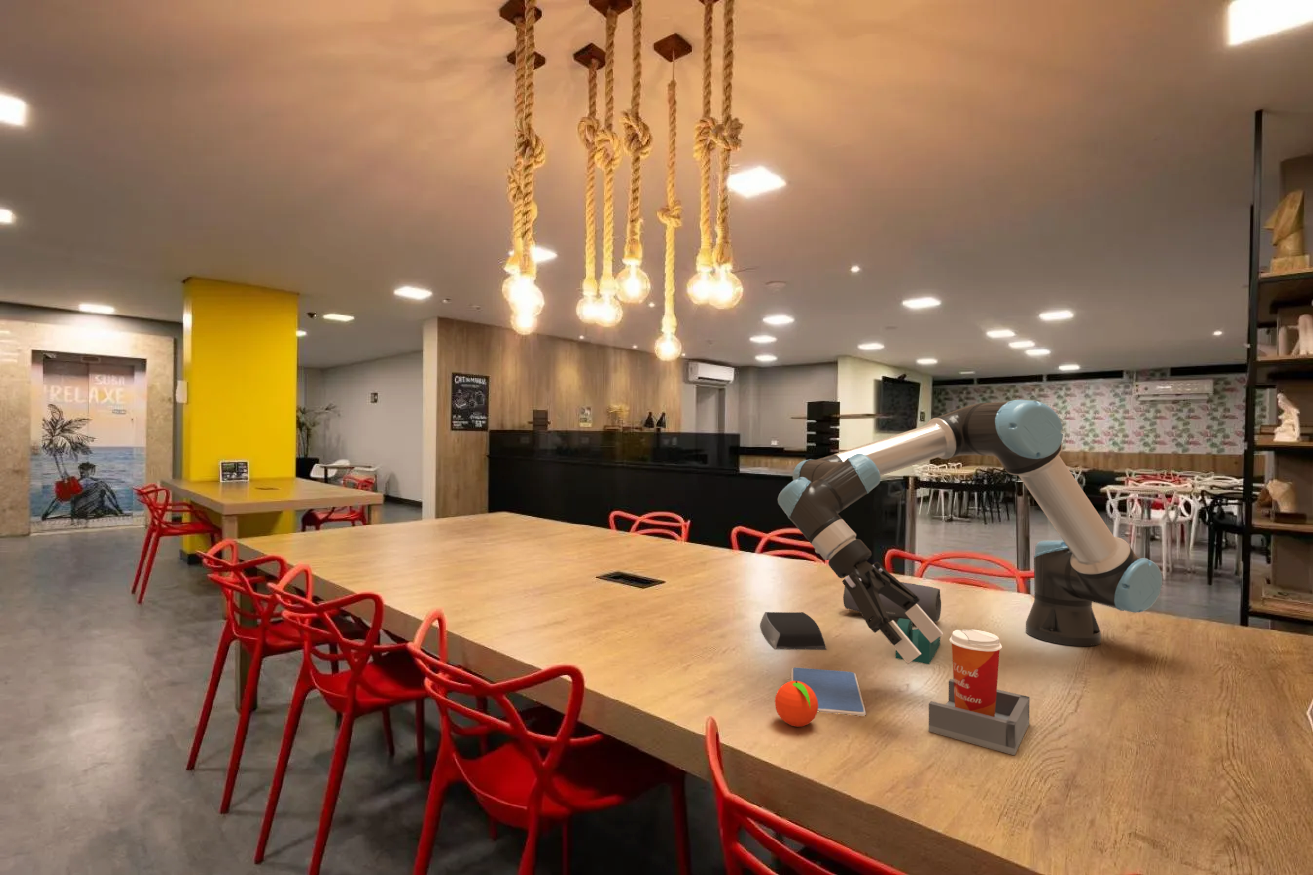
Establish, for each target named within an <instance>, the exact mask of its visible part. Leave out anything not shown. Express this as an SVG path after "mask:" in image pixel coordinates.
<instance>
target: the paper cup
mask: <svg viewBox="0 0 1313 875" xmlns="http://www.w3.org/2000/svg"><path fill="white" fill-rule="evenodd" d="M949 642H950V643H951V656H952V674H953V675H952V677H953V680H954V697H955V707H957V708H961V709H965V710H969V711H973V712H977V713H981V714H985V715H989V716H993V717H995V706H996V693H997V690H998V679H999V678H998V677H999V666H1000V665H999V663H1000V650H1001V649H1002V648H1003V646H1002V644H1001V643H1000V638H999V636H997V635H996V634H994V633H992V632H988V631H984V630H980V629H979V630H978V629H971V628H970V629H967V628H966V629H955V630H953V631H952V634H951V636H950V638H949Z"/></svg>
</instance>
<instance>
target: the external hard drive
mask: <svg viewBox="0 0 1313 875" xmlns="http://www.w3.org/2000/svg"><path fill="white" fill-rule="evenodd" d="M759 626H760V630H761V633H762V635H763V636H764V639H765V640H766V641H767V643H768V644H769V645H770V646H771V647H772V649H774V650H794V651H795V650H796V651H797V650H803V651H804V650H807V651H808V650H810V651H811V650H817V651H818V650H819V651H820V650H821V651H824V650H825V651H826V650H827V646H826V644H825V640H824V638H823V633H822V631H821V629H820V628H819V625H818V624H817V622H816V621H815V620H814V619H813V618H812V617H811V616H809V615H808V614H806V613H805V612H804V611H803V612H800V611H799V612H793V611H791V612H788V611H787V612H785V611H784V612H783V611H782V612H781V611H780V612H777V611H774V612H773V611H765V612H764V614H762V618H761V620H760V624H759Z"/></svg>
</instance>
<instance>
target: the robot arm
mask: <svg viewBox="0 0 1313 875" xmlns="http://www.w3.org/2000/svg"><path fill="white" fill-rule="evenodd" d="M1062 430H1064V428H1063V423H1062V420H1061V418H1060V417H1059V415H1058V414H1057V412H1056V411H1055V410H1054V409H1053V408H1051V407H1050V406H1049V405H1048V404H1046V403H1043V402H1041V401H1038V400H1026V399H1015V400H1014V399H1013V400H1010V401H999V402H996V401H995V402H979V403H974V404H971V405H967V406H964V407H961V408H959V409H955V410H954V411H950V412H948V413H945V414H943V415H939V416H936V417H934V418H931V419H930V420H928V422H926V425H923V426H920V427H917V428H913V429H910V430H906V431H905V432H901V433H898V434H895V435H892V436H891V435H890V436H888V437H885V438H881V439H878V440H875V441H873V442H872V441H871V442H869V443H866V444H863V445H860V446H856V447H853V448H849V449H846V450H843V451H840V452H837V453H834V454H831V455H827V456H825V457H821V458H818V459H814V458H813V459H812V458H810V459H806V460H802V461H800V462H799V463H797V465H796V466H795V467H794V469H793V471H792V481H791V482H789V483H788V484H787V485H785V486H784V487H783V488H782V490H781V491H780V493H779V494H778V497H777V504H778V505H779V506H780V508H781V509H782V511H783V512H784V514H786V516H787V518H788V519H789V520H790V521H791V523H793V525H795V527H796V528H797V529H798V530H799V531H800V532H801V534H803V536H804V537H805V539H806V540H808V542H809V543H810V544H811V546H812V547H813V548H814V551H815V553H816V554H819V555H820V556H821V557H822V559H823V560H824V561H828V562H827V563H828V566H829V567H830V569H831V570H832V572H833V573H834V574H835V575H836V576H837V577H838V578H839V579H843V580H842V581H841V582H842V584H843V586H844V588H845V587H846V588H847V589H848V591H849V592H850V594H851V596H852V597H853V599H854V601H855V603H856V605H857V607H858V609H859V610H860V614H861V617H862V618H863V620H864V622H865V624H866V625H867V627H868V628H869V629H870V630H871V632H873V633H875V634H876V633H877V632H878V631H879V632H880V633H881V634H882V635H883V636H884V637H885V638H886V640H887V641H888V642H889V643H890V644H891V646H892V647H893V648H894V649H895V651H896V650H897V652H898V653H899V654H900V655H901V656H902V658H903V659H904V661H905V662H906V664H907V665H909V664H910V663H911V662H914V661H913V660H914V659H915V658H917V657H918V656H919V655H921V652H920V651H919V650H918V649H917V648H916V647H915V645H914V644H913V643H912V642H911V641H910V640H909V638H908V637H907V636H906V635H905V634H904V632H903V631H902V630H901V629H900V628H899V627H898V625H897V622H894V621H893V620H892V621H889V618H888V616H887V613H886V611H885V609H884V606H883V604H882V601H881V599H880V597H879V594H882V595H884V596H885V597H887V598H888V599H890V600H891V601H893V602H894V603H896V604H897V605H899V606H900V607H902V608H903V609H905V610H906V611H907V610H908V611H907V612H905V614H906V615H907V616H908V617H909V618H910V619H911V621H912V624H914V626H915V627H916V629H919V630H920V631H921V632H922V633H923V635H924V636H925V637H926V638H927V639H928V640H929V641H930V643H932V642H933V641H934V640H936V639H937V638H938V637H940V638H941V636H943V635H944V633H943V631H942V630H941V629H940V628H939V627H938V625H937V624H935V623H936V622H933V621H932V620H931V619H930V618H929V617H928V616H927V614H926V613H925V612H924V611H923V610H922V609H921V608H920V606H919V605H918V604H916V603H918V602H919V601H920V599H919V597H918V596H916V595H915V594H914V593H913V592H912V591H910V590H909V589H908V588H907V587H906V586H904V585H903V584H902V583H901V581H899V579H897V578H896V577H895V576H894V575H892V574H891V573H890V572H889V571H888V570H886V569H885V567H884V566H883V565H882V564H881V563H880V562H878V561H876V562H874V563H873V564H871V562H869V561H868V560H869V559H870V558H872V557H871V556H872V551H871V550H870V549H869V548H868V546H867V545H866V544H865V543H864V542H863V541H862V540H861V539H859V538H857V533H856V532H855V531H854V530H853V529H852V528H851V527H850V526H849V525H848V523H846V521H845V520H844V519H843V518H842V517H841V515H839V513H841V512H842V511H843V510H845V509H846V508H848V507H849V506H850V505H852V504H854V503H856V502H857V501H858V500H859V499H861V498H862V497H864V496H865V495H867V494H869V493H870V492H871V491H872V490H873V489H875V488H876V487H877V486H879V484H880V483H881V479H882V478H881V476H884V475H887V474H891V473H893V472H897V471H900V470H902V469H905V468H908V467H912V466H915V465H918V464H921V463H924V462H927V461H930V460H934V459H936V458H938V459H942V460H949V459H952V458H955V457H961V456H988V457H995V458H996V459H997V460H998V461H999V463H1000V464H1001V467H1003V469H1004V470H1005V471H1006V473H1008V474H1009V475H1012V476H1018V477H1019V478H1020V480H1021V481H1022V483H1023V484H1024V485H1025V488H1026V489H1027V490H1028V491H1029V493H1030V495H1031V496H1032V497H1033V499H1034V500H1035V501H1036V503H1037V504H1038V506H1039V507H1040V509H1041V510H1042V512H1043V513H1044V515H1045V516H1046V517H1047V519H1048V521H1049V522H1050V523H1051V525H1052V527H1053V528H1054V529H1055V531H1056V532H1057V533H1058V535H1059V537H1060V538H1061V539H1049V540H1047V539H1046V540H1040V541H1038V542H1037V543H1036V544H1035V547H1034V549H1035V550H1034V556H1033V565H1034V566H1033V569H1034V570H1033V578H1034V579H1033V582H1034V583H1033V584H1034V585H1033V586H1034V587H1033V588H1034V595H1033V596H1034V597H1033V598H1034V599H1033V603H1032V606H1031V608H1030V611H1029V613H1028V615H1027V618H1026V620H1025V632H1026V633H1027V634H1028V635H1029V636H1031V637H1033V638H1036V639H1038V640H1041V641H1045V642H1050V643H1053V644H1059V645H1065V646H1075V647H1093V646H1094V647H1095V646H1097V645H1098V646H1099V645H1100V644H1101V642H1102V634H1101V630H1100V627H1099V624H1098V621H1097V618H1096V615H1095V612H1094V609H1093V603H1096V604H1100V605H1102V606H1106V607H1108V608H1112V609H1115V610H1118V611H1123V612H1124V611H1125V612H1130V613H1142V612H1144V611H1147V610H1149V609H1150V608H1151V607H1152V606H1153V605H1154V604H1155V603H1156V601H1157V600H1158V599H1159V597H1160V594H1161V591H1162V586H1163V575H1162V571H1161V569H1160V566H1158V564H1157V563H1155V562H1154V561H1153V560H1150V559H1148V558H1147V557H1139V556H1138V555H1136V553H1135V552H1134V550H1133V548H1132V547H1131V546H1130V544H1129V543H1128V542H1127V541H1126V540H1125V539H1123V538H1121V537H1118V536H1114V535H1113V533H1112V532H1111V531H1110V530H1111V529H1109V527H1108V526H1107V524H1106V523H1105V522H1104V520H1103V518H1102V517H1101V515H1100V514H1099V513H1098V511H1097V509H1096V508H1095V507H1094V505H1093V503H1092V502H1091V500H1090V499H1089V498H1088V496H1087V495H1086V493H1085V492H1084V490H1083V489H1082V487H1081V485H1080V484H1079V483H1078V481H1077V480H1076V478H1075V477H1074V476H1073V474H1072V472H1071V471H1070V470H1069V468H1068V466H1067V465H1066V463H1065V462H1064V460H1063V459H1062V457H1061V456H1060V455H1061V453H1062V451H1063V444H1062V443H1063V437H1064V433H1062ZM903 659H902V660H903Z"/></svg>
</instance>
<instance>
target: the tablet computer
mask: <svg viewBox="0 0 1313 875" xmlns="http://www.w3.org/2000/svg"><path fill="white" fill-rule="evenodd" d="M790 672H791V673H790V681H800V682H803V683H805V684H806V685H808V686H809V687H810V688H811V689H812V690H813V691H814V693H815V695H816V697H817V700H818V711H819V712H826V713H825V714H828V713H837V714H836V715H838V713H840V714H851V715H858V716H857V717H859V716H864V715H866V716H867V711H866V708H865V703H864V701H863V696H862V692H861V688H860V686H859V685H860V684H859V681H858V679H857V674H856V673H855V672H852V671H846V670H845V671H844V670H832V669H821V668H820V669H819V668H818V669H817V668H808V667H792V668H791V670H790ZM864 717H865V716H864Z"/></svg>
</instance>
